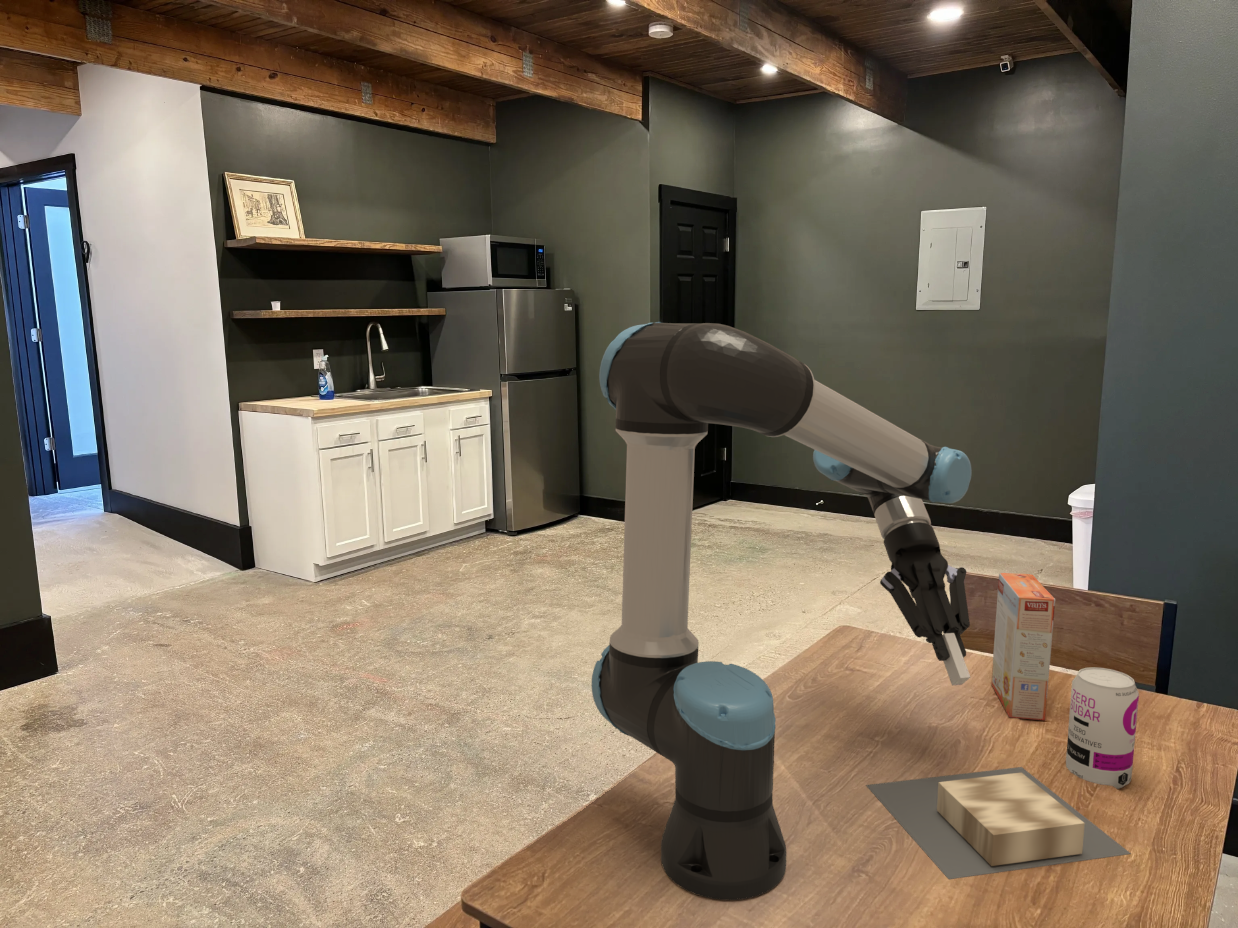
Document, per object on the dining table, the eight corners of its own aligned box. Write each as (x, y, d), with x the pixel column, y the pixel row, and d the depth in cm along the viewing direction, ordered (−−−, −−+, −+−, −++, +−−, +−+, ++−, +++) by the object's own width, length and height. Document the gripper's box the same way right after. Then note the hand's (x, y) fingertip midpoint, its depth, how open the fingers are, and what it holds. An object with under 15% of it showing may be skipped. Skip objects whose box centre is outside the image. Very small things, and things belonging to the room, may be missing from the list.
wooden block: (936, 811, 115) (991, 867, 103) (938, 782, 114) (993, 834, 102) (1019, 801, 117) (1081, 855, 105) (1021, 772, 116) (1084, 822, 105)
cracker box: (1048, 722, 142) (1057, 598, 138) (1008, 719, 143) (1016, 596, 139) (1026, 686, 155) (1034, 572, 152) (990, 684, 156) (997, 571, 153)
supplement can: (1137, 775, 125) (1146, 675, 123) (1121, 798, 119) (1130, 694, 117) (1075, 756, 131) (1083, 661, 128) (1057, 777, 125) (1065, 678, 122)
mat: (948, 886, 101) (948, 878, 101) (865, 791, 122) (865, 784, 122) (1130, 860, 106) (1131, 853, 106) (1021, 773, 126) (1021, 766, 126)
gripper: (936, 543, 137) (992, 687, 124) (858, 547, 135) (906, 695, 122) (957, 517, 131) (1017, 666, 118) (875, 521, 129) (927, 674, 115)
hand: (961, 681), depth 120 cm, fingers closed
